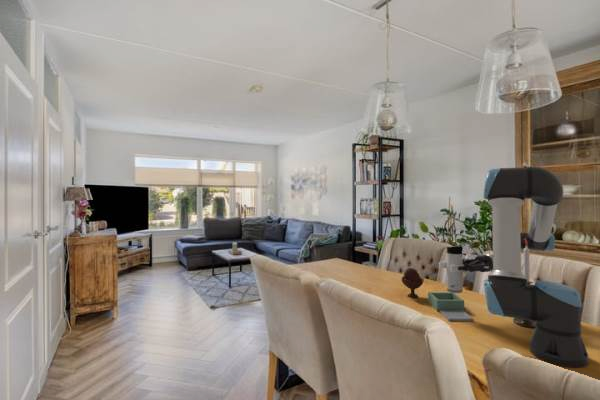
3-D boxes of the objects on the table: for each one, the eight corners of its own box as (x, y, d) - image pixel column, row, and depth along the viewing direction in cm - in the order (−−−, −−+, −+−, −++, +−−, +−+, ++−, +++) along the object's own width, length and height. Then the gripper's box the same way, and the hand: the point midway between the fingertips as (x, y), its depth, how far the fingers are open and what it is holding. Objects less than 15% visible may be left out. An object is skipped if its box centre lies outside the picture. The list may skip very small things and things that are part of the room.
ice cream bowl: (425, 300, 162) (425, 270, 161) (402, 299, 164) (402, 269, 164) (422, 293, 172) (422, 265, 172) (400, 292, 174) (400, 265, 174)
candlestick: (505, 318, 138) (505, 235, 137) (534, 319, 136) (534, 236, 135) (518, 328, 127) (518, 239, 126) (549, 330, 125) (549, 239, 125)
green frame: (464, 311, 146) (464, 300, 146) (436, 311, 147) (436, 300, 147) (453, 302, 158) (453, 292, 158) (428, 302, 159) (428, 292, 158)
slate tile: (473, 321, 135) (473, 318, 135) (448, 320, 136) (448, 318, 136) (462, 312, 145) (462, 310, 145) (440, 312, 146) (440, 309, 146)
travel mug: (454, 294, 137) (454, 247, 137) (443, 289, 144) (443, 244, 143) (466, 292, 139) (466, 246, 138) (455, 288, 145) (455, 243, 145)
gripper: (506, 276, 137) (462, 281, 130) (470, 267, 156) (429, 270, 149) (506, 258, 137) (461, 262, 130) (470, 251, 155) (429, 254, 149)
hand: (444, 266), depth 140 cm, fingers closed on travel mug, 6 cm apart
